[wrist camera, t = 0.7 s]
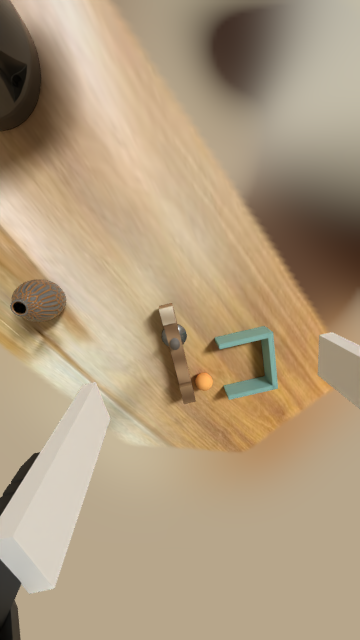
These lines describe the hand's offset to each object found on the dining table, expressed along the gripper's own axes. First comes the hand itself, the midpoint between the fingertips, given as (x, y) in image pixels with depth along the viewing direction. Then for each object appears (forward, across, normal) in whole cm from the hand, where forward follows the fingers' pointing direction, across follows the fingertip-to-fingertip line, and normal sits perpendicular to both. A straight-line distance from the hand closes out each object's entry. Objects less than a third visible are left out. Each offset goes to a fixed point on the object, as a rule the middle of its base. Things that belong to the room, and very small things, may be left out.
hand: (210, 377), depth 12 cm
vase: (+28, -23, +4) cm, 37 cm away
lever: (+27, -3, -12) cm, 29 cm away
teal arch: (+28, +10, -17) cm, 34 cm away
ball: (+26, +1, -20) cm, 32 cm away
